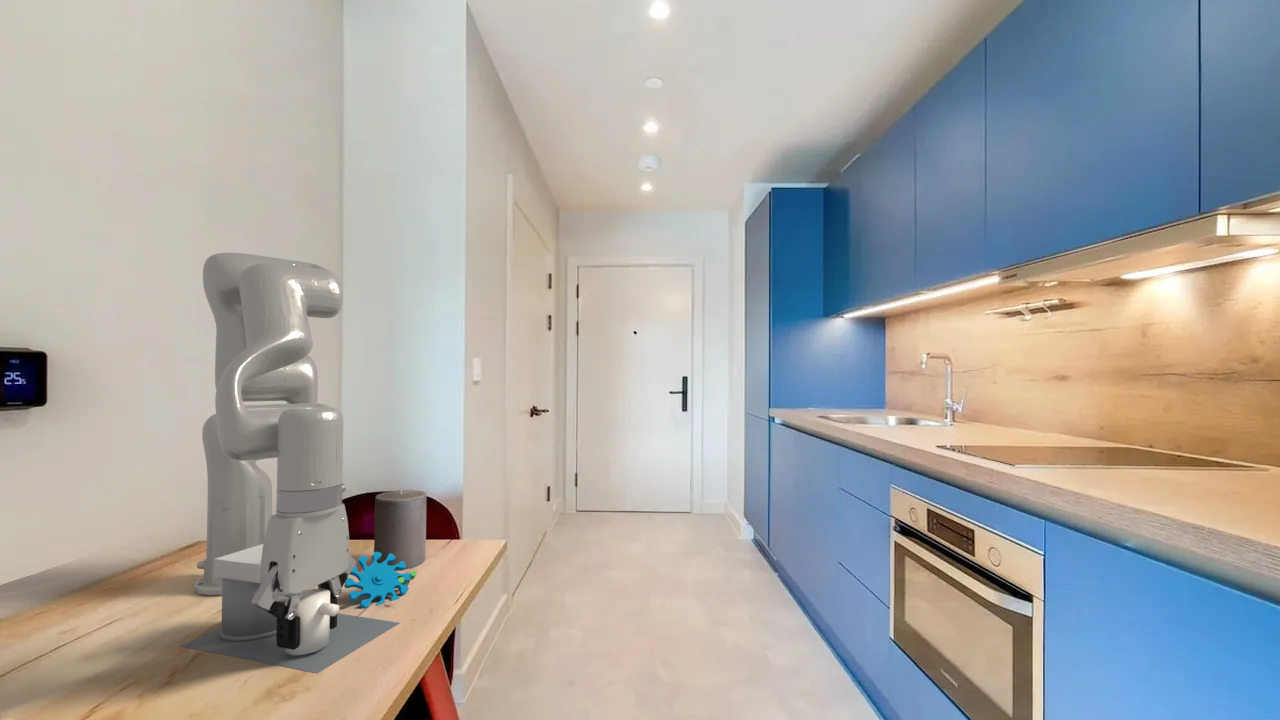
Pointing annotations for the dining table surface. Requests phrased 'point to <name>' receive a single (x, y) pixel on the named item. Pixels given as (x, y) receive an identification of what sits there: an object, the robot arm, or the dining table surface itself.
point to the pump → (313, 620)
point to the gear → (379, 580)
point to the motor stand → (273, 622)
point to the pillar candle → (401, 526)
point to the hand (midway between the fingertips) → (307, 635)
